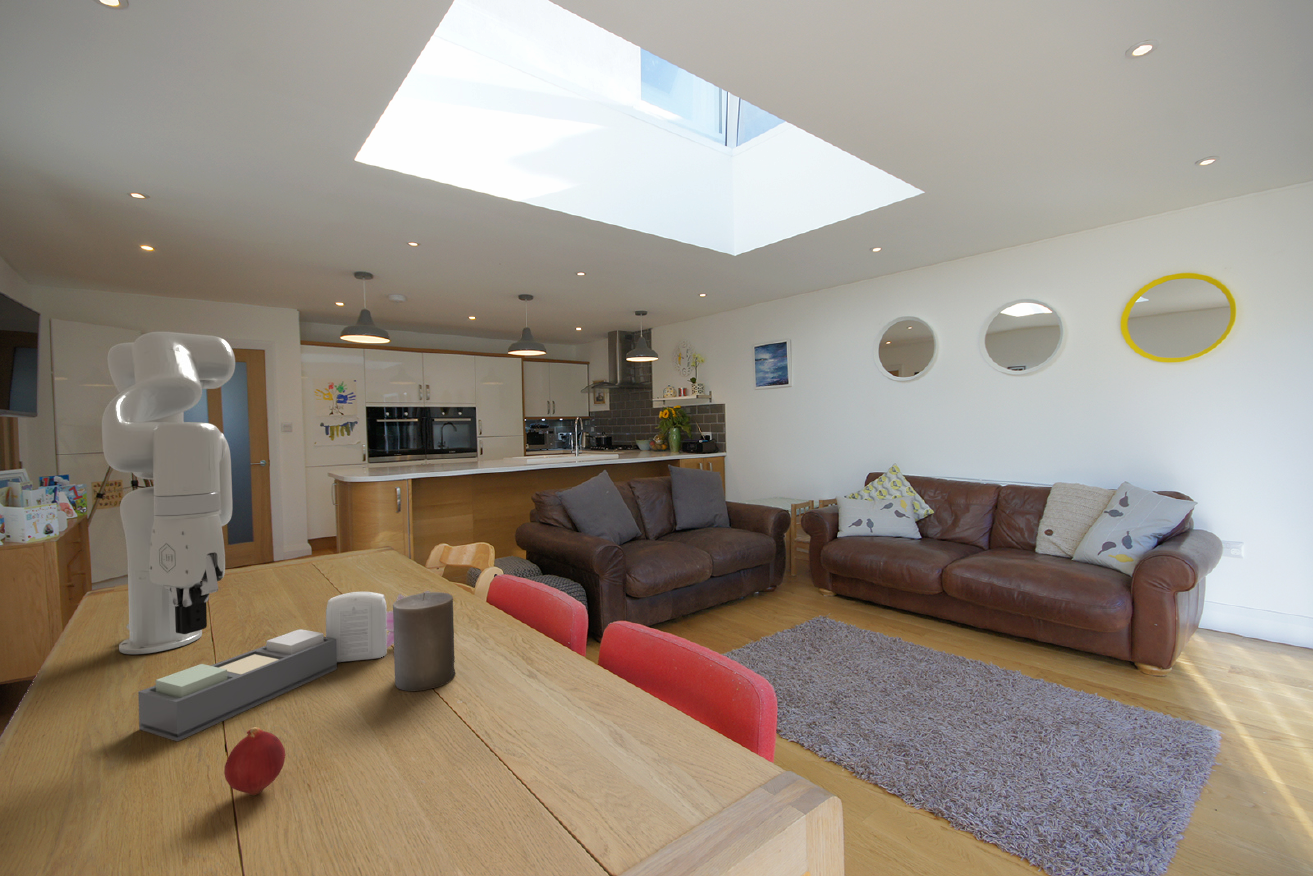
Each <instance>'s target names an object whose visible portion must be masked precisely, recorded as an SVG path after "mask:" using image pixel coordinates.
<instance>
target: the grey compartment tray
mask: <svg viewBox="0 0 1313 876" xmlns="http://www.w3.org/2000/svg"><path fill="white" fill-rule="evenodd" d="M254 654H256V655H261V656H265V657H270V658H275V659H279V660H276V661H274V662H271V663H269V664H266V665H264V666H261V667H259V668H256V669H254V670H251V671H248V672H246V673H243V674H241V675H239V674H235V673H231V672H227V680H225V681H223V682H220V683H218V684H215V685H213V686H210V687H208V688H205V689H203V690H200V691H197V692H195V693H192V694H190V695H187V696H185V697H182V698H176V697H172V696H168V695H165V694H161V693H157V692H156V684H155V685H152V686H149V687H147V688H145V689H144V688H143V689H142V690H138V693H137V694H138V725H139V726H138V729H139V730H140V731H143V732H146V733H150V734H153V735H156V736H159V737H162V738H166V739H169V740H172V741H175V742H180V741H182V740H185V739H186V738H188V737H190V736H193V735H196V734H197V733H199V732H201V731H203V730H206V729H208V728H210V727H213V726H215V725H217V724H219V723H221V722H223V721H226V720H228V719H231V718H233V717H235V716H237V715H240V714H241V713H243V712H246V711H248V710H250V709H253V708H254V707H256V706H259V705H261V704H264V703H266V702H268V701H270V700H272V699H275V698H277V697H279V696H282V695H283V694H286V693H288V692H290V691H293V690H294V689H296V688H299V687H301V686H304V685H306V684H308V683H310V682H312V681H314V680H316V679H318V678H320V677H323V676H325V675H327V674H329V673H331V672H334V671H336V669H337V670H338V662H337V646H336V639H334V638H329V637H326V636H324V642H322V643H320V644H317V645H315V646H312V647H310V648H307V649H304V650H302V651H299V652H297V653H294V654H292V655H289V654H284V653H279V652H274V651H269V650H267V644H265V645H264V646H261V647H257V648H254V649H252V650H249V651H246V652H243V653H241V654H238V655H235V656H232V657H231V658H228V659H225V660H222V661H219V662H216V663H214V664H211V665H210V666H213V667H218V668H219V667H222V666H224V665H227V664H230V663H232V662H235V661H238V660H241V659H243V658H246V657H249V656H251V655H254Z"/></svg>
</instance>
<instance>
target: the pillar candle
mask: <svg viewBox="0 0 1313 876" xmlns="http://www.w3.org/2000/svg"><path fill="white" fill-rule="evenodd" d="M392 611H393V620H394V644H393V659H394V683H395V686H396V689H397V688H398V689H399V690H401V691H405V692H416V691H417V692H419V691H425V690H430V689H433V688H438V687H441V686H444V685H446V684H447V683H449V682H451V681H452V680H453V679H454V678H455V675H456V670H455V661H456V660H455V659H456V657H455V656H456V655H455V628H454V627H455V626H454V596H453V594H450V593H447V592H439V591H437V592H436V591H434V592H431V591H430V593H423V592H421V593H416V594H411V595H408V596H404V597H403V598H401V599H400V600H397V599H396V601H394V602H393V603H392Z"/></svg>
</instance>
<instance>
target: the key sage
mask: <svg viewBox="0 0 1313 876" xmlns="http://www.w3.org/2000/svg"><path fill="white" fill-rule="evenodd" d="M225 680H227V670H226V669H222V668H218V667H213V666H211V665H208V664H205V663H200V664H197V665H195V666H191V667H189V668H186V669H184V670H179V671H178V672H174V673H172V674H171V673H170V674H169V675H166V676H164V677H160V678H157V679H155V685H156V692H157V693H161V694H165V695H168V696H172V697H176V698H182V697H185V696H187V695H190V694H192V693H195V692H197V691H200V690H203V689H205V688H208V687H210V686H213V685H215V684H218V683H220V682H223V681H225Z"/></svg>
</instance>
